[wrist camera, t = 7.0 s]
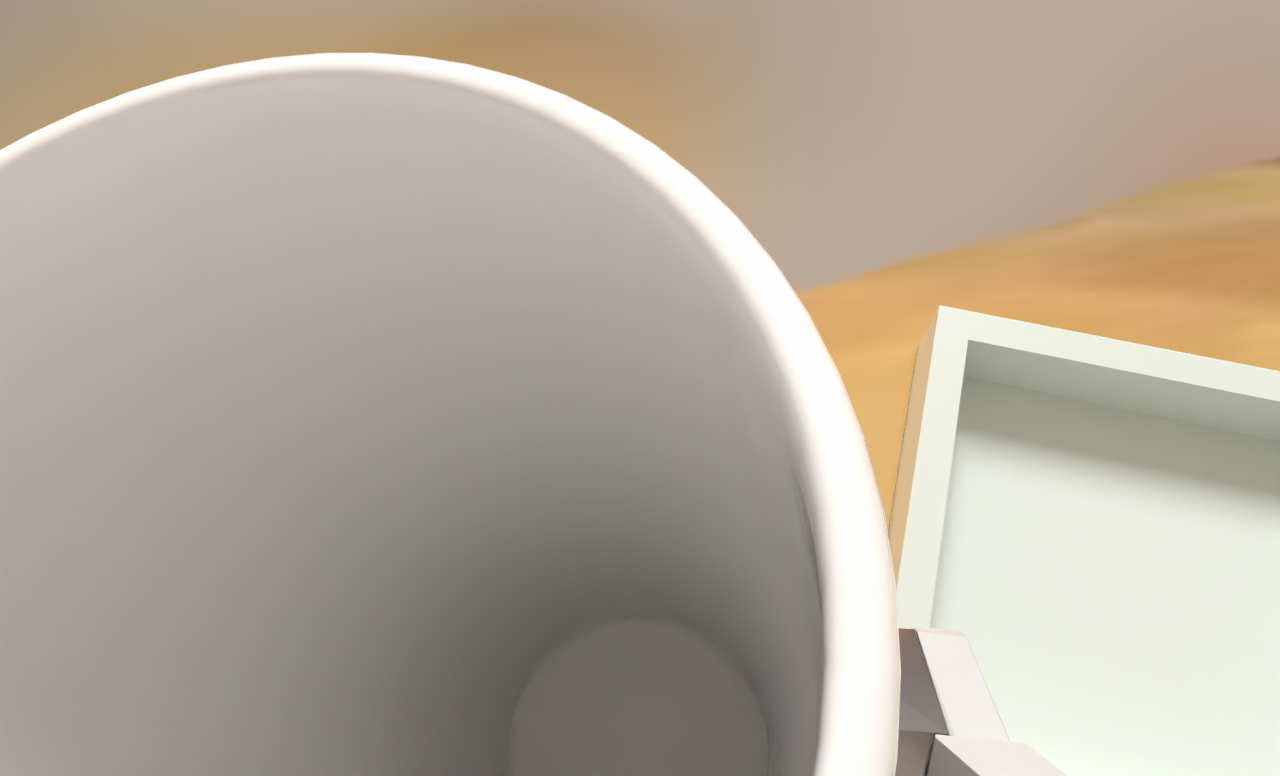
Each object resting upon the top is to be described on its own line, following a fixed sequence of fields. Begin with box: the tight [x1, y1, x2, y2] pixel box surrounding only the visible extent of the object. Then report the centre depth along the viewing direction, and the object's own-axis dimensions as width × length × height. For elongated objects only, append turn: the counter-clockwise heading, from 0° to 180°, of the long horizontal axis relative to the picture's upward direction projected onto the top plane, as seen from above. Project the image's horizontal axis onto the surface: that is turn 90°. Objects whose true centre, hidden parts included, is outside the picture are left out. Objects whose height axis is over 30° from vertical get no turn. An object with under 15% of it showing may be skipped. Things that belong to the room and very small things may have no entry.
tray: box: [888, 305, 1280, 776], centre depth 25 cm, size 14×14×3 cm
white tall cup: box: [0, 53, 901, 776], centre depth 11 cm, size 7×7×15 cm
